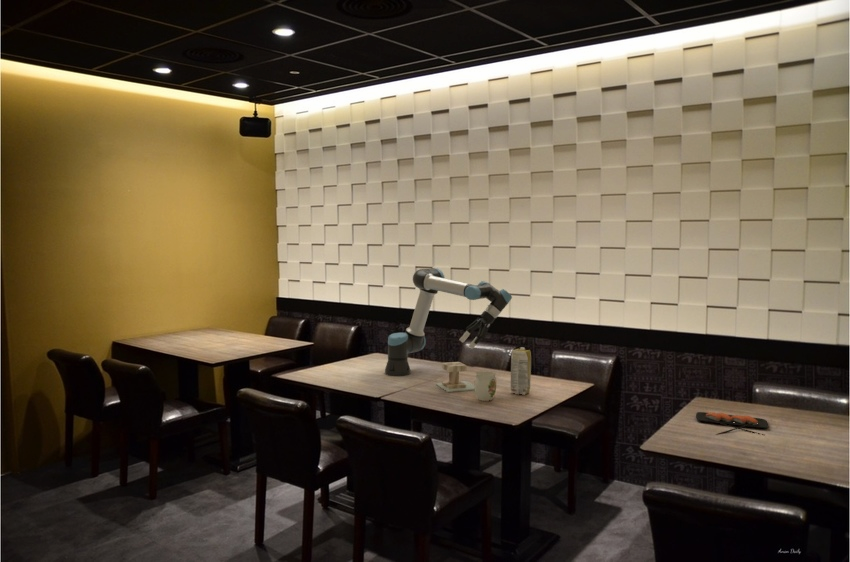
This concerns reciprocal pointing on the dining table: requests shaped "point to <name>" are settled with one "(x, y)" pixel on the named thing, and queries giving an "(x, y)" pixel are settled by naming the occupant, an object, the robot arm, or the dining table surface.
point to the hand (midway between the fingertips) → (465, 344)
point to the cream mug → (485, 385)
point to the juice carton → (520, 371)
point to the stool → (454, 374)
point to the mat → (468, 387)
